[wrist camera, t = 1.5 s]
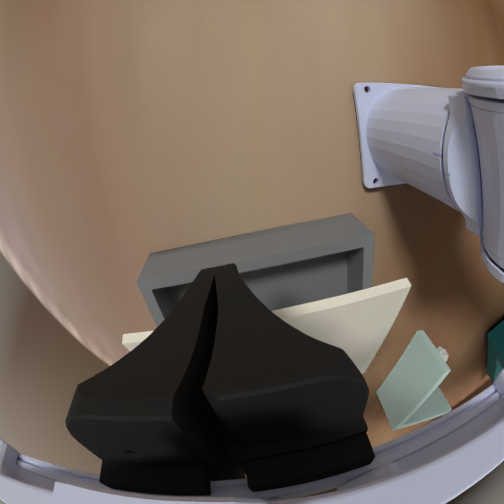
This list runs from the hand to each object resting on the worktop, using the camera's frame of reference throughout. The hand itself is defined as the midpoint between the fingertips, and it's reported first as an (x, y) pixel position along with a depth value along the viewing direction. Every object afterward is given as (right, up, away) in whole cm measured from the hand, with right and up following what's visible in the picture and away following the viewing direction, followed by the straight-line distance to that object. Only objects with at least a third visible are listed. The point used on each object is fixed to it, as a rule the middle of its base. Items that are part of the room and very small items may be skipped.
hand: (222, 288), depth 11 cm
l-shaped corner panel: (+26, -14, +22) cm, 37 cm away
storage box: (+2, -3, +14) cm, 14 cm away
